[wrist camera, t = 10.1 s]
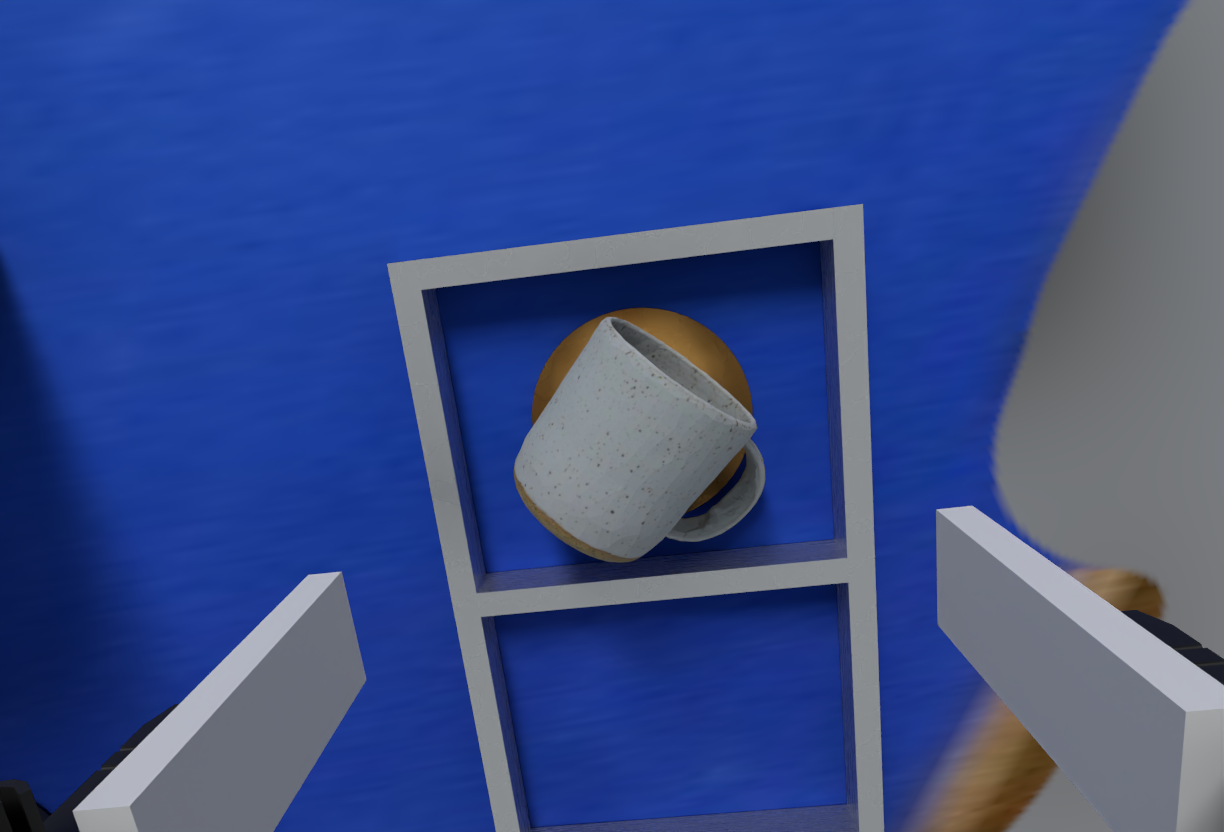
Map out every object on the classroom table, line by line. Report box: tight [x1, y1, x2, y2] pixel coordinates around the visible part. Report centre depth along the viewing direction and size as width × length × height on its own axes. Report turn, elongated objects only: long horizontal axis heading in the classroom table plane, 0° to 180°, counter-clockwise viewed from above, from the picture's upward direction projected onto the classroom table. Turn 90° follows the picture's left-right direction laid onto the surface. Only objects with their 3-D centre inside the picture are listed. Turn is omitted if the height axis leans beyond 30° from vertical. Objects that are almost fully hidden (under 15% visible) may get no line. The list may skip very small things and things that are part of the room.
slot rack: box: [387, 204, 884, 832], centre depth 32 cm, size 19×31×2 cm, turn 7°
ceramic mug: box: [514, 317, 765, 563], centre depth 27 cm, size 10×8×7 cm
